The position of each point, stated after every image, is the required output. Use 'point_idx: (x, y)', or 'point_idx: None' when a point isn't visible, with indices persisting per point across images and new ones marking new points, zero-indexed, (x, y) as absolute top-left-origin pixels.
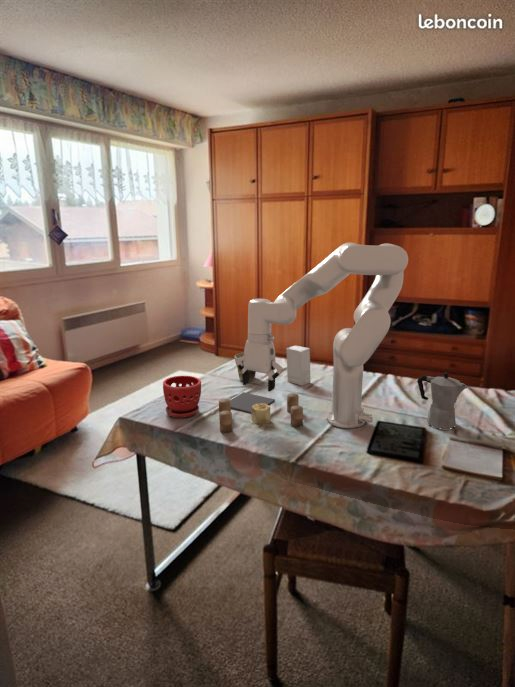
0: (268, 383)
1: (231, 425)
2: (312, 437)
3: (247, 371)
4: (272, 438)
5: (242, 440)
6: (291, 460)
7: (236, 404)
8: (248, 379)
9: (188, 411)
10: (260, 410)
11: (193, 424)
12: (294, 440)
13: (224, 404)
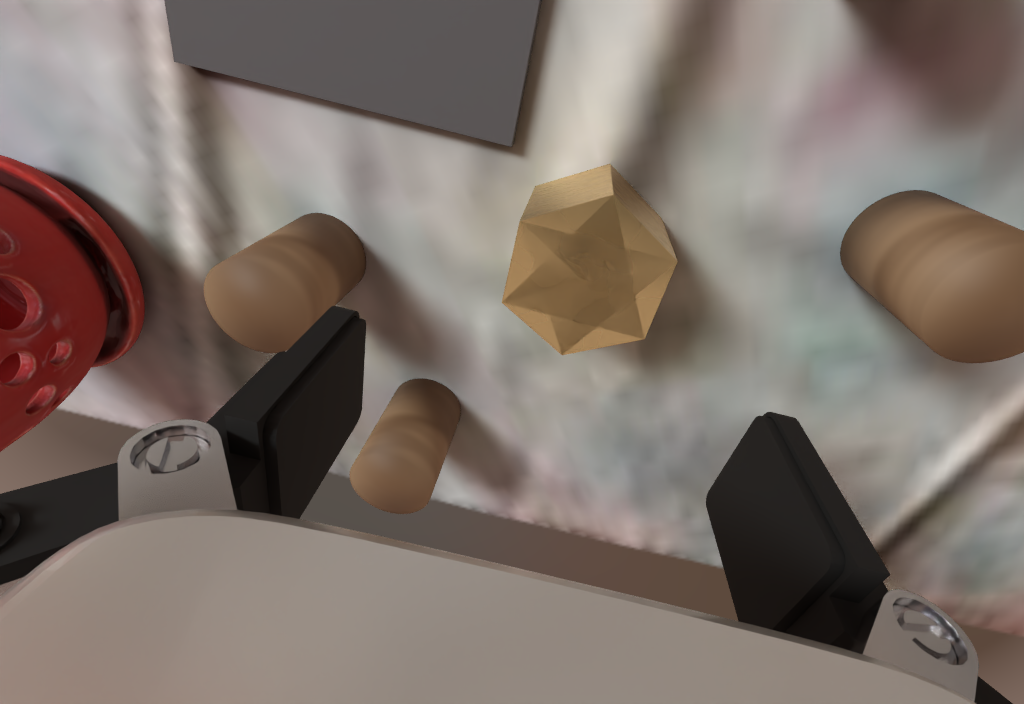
0: (741, 606)
1: (451, 436)
2: (992, 397)
3: (245, 497)
4: (710, 443)
5: (552, 479)
6: None
7: (270, 1)
8: (338, 369)
9: (108, 324)
10: (600, 345)
11: (233, 380)
12: (851, 444)
13: (289, 347)
